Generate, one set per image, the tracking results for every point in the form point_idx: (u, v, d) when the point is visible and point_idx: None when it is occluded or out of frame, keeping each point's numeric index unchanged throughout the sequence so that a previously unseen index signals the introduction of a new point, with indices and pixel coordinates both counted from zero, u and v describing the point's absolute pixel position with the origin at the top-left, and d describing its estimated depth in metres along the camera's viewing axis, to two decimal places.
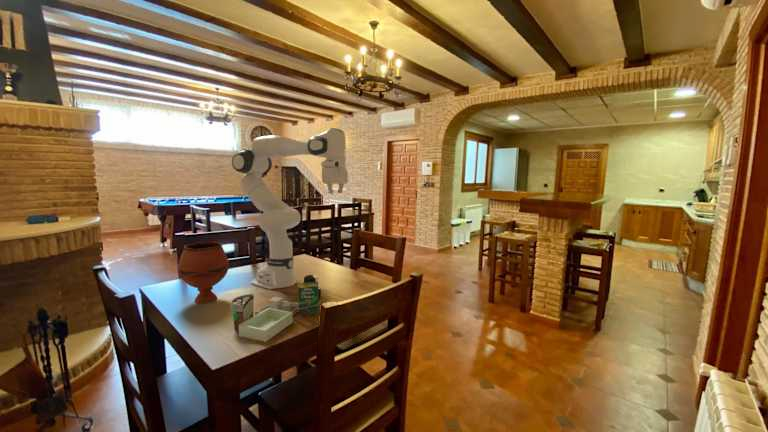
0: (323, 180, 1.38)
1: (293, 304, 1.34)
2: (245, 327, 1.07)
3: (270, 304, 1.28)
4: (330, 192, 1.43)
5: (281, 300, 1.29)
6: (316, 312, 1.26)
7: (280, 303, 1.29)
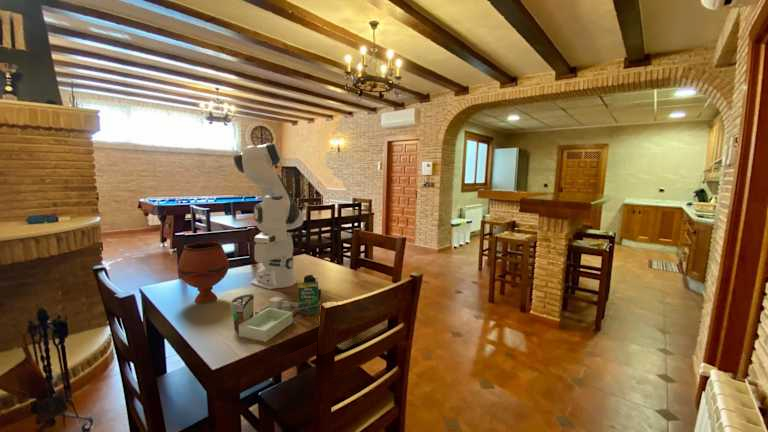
0: (256, 259, 1.18)
1: (293, 304, 1.34)
2: (245, 327, 1.07)
3: (270, 304, 1.28)
4: (267, 270, 1.22)
5: (281, 300, 1.29)
6: (316, 312, 1.26)
7: (280, 303, 1.29)
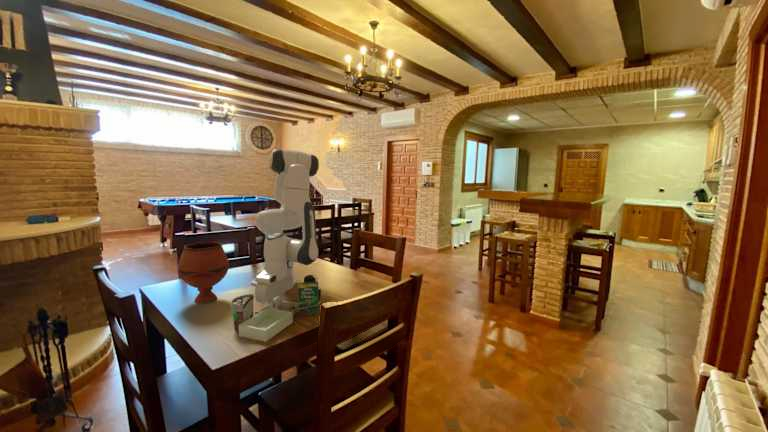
0: (257, 299, 1.19)
1: (293, 304, 1.34)
2: (245, 327, 1.07)
3: None
4: (270, 307, 1.26)
5: (281, 300, 1.29)
6: (316, 312, 1.26)
7: (280, 303, 1.29)
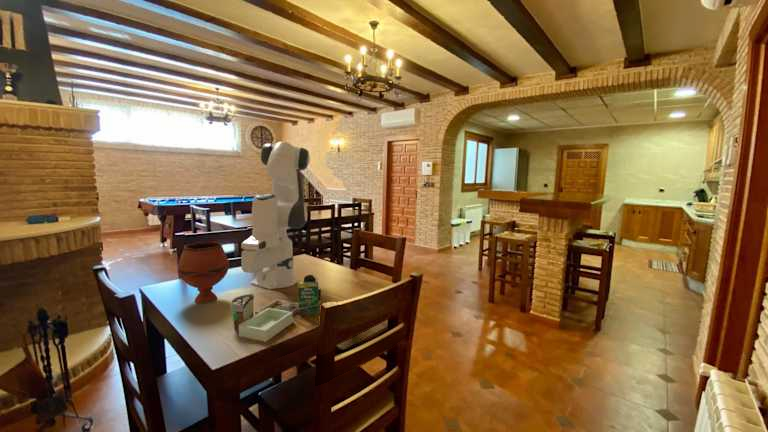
0: (243, 268, 1.02)
1: (293, 304, 1.34)
2: (245, 327, 1.07)
3: None
4: (260, 279, 1.08)
5: (273, 272, 1.11)
6: (316, 312, 1.26)
7: (271, 275, 1.11)
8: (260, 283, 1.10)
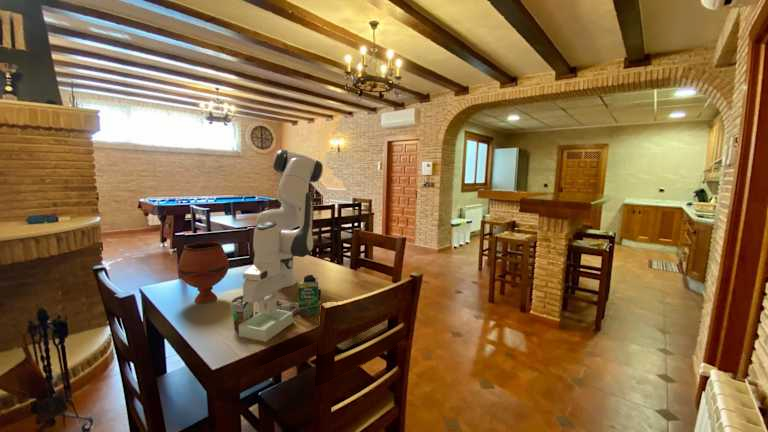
0: (245, 299, 1.03)
1: (293, 304, 1.34)
2: (245, 327, 1.07)
3: None
4: (261, 307, 1.09)
5: (274, 299, 1.13)
6: (316, 312, 1.26)
7: (273, 303, 1.12)
8: (261, 311, 1.11)
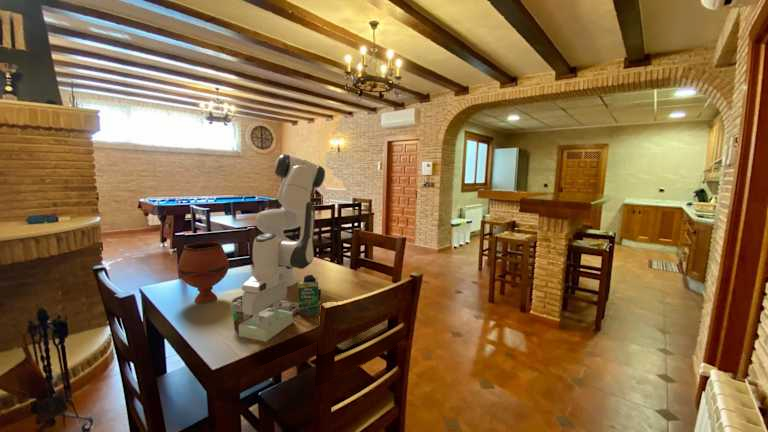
0: (244, 311, 1.03)
1: (293, 304, 1.34)
2: (245, 327, 1.07)
3: None
4: (257, 321, 1.08)
5: (273, 315, 1.13)
6: (316, 312, 1.26)
7: (272, 319, 1.13)
8: (260, 327, 1.12)
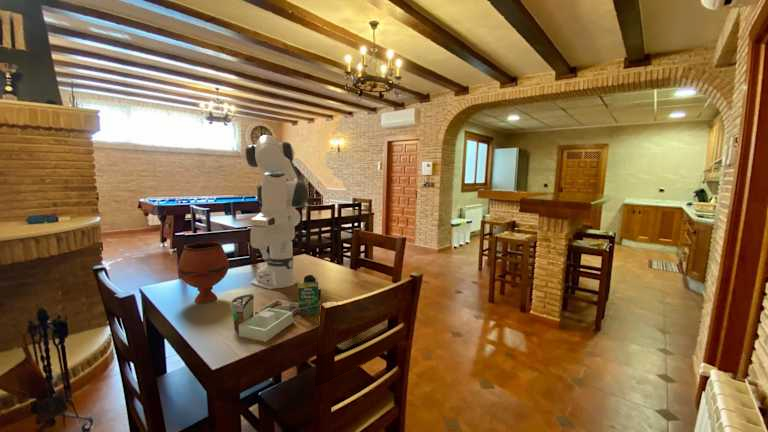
0: (252, 244, 1.03)
1: (293, 304, 1.34)
2: (245, 327, 1.07)
3: (260, 320, 1.12)
4: (264, 257, 1.07)
5: (273, 315, 1.13)
6: (316, 312, 1.26)
7: (272, 319, 1.13)
8: (260, 327, 1.12)
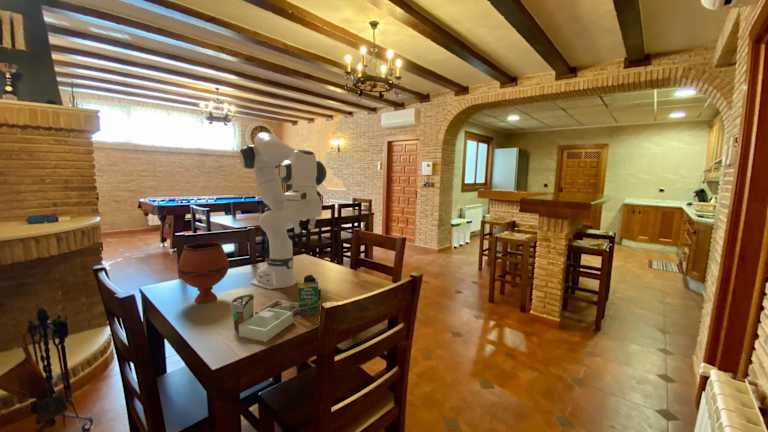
0: (286, 217, 1.08)
1: (293, 304, 1.34)
2: (245, 327, 1.07)
3: (260, 320, 1.12)
4: (296, 231, 1.13)
5: (273, 315, 1.13)
6: (316, 312, 1.26)
7: (272, 319, 1.13)
8: (260, 327, 1.12)
